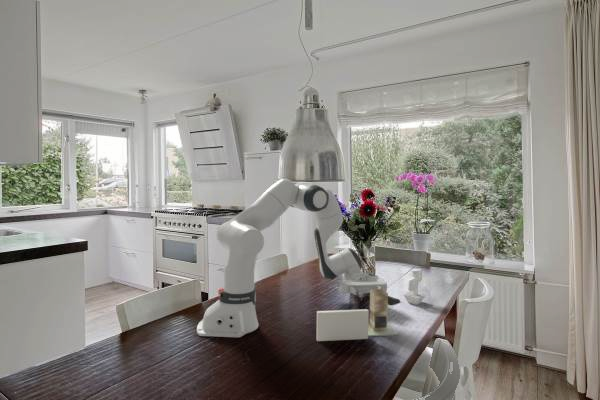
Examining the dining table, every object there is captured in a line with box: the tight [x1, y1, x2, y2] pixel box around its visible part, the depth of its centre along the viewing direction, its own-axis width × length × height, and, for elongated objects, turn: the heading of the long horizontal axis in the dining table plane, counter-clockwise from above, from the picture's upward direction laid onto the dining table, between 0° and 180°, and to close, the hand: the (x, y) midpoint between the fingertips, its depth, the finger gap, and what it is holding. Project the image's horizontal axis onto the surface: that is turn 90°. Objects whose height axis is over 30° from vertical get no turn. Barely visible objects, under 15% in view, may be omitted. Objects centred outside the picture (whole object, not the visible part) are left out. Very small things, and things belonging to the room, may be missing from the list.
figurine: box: [403, 268, 427, 306], centre depth 161 cm, size 7×9×15 cm
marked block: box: [368, 289, 389, 332], centre depth 132 cm, size 5×5×14 cm
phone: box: [364, 293, 401, 306], centre depth 166 cm, size 8×1×15 cm
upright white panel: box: [315, 308, 370, 342], centre depth 125 cm, size 18×2×10 cm, turn 97°
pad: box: [368, 322, 397, 337], centre depth 133 cm, size 10×10×1 cm
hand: (368, 292), depth 145 cm, fingers open, 8 cm apart
